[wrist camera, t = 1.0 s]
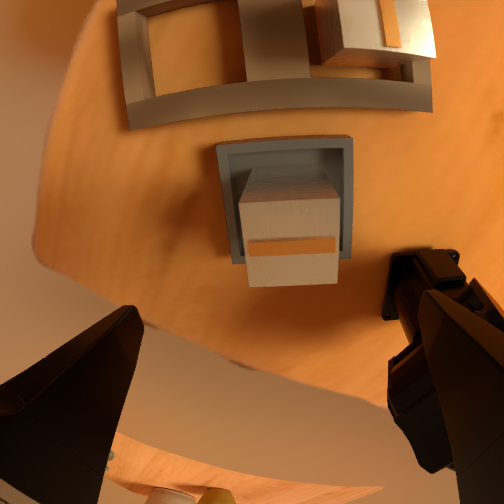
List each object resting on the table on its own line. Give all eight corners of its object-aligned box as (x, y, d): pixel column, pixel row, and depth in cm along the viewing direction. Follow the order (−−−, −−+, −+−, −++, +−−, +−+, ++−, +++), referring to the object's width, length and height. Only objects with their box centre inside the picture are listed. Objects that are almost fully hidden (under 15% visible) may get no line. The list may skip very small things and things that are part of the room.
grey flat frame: (419, 110, 16) (432, 112, 15) (142, 127, 19) (130, 130, 17) (403, -18, 12) (414, -27, 10) (129, 2, 14) (116, -4, 12)
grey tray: (345, 246, 22) (350, 258, 20) (236, 251, 23) (232, 264, 21) (346, 134, 18) (352, 138, 16) (221, 142, 19) (215, 145, 17)
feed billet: (320, 164, 19) (340, 199, 12) (321, 226, 21) (337, 285, 14) (252, 168, 19) (238, 205, 13) (258, 229, 21) (248, 289, 15)
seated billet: (386, 68, 15) (437, 57, 9) (321, 65, 16) (344, 46, 10) (379, 9, 13) (423, -24, 7) (314, 5, 14) (331, -38, 8)
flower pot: (250, 493, 54) (247, 518, 47) (223, 496, 58) (219, 519, 51) (216, 483, 51) (211, 509, 45) (191, 486, 55) (186, 510, 49)
